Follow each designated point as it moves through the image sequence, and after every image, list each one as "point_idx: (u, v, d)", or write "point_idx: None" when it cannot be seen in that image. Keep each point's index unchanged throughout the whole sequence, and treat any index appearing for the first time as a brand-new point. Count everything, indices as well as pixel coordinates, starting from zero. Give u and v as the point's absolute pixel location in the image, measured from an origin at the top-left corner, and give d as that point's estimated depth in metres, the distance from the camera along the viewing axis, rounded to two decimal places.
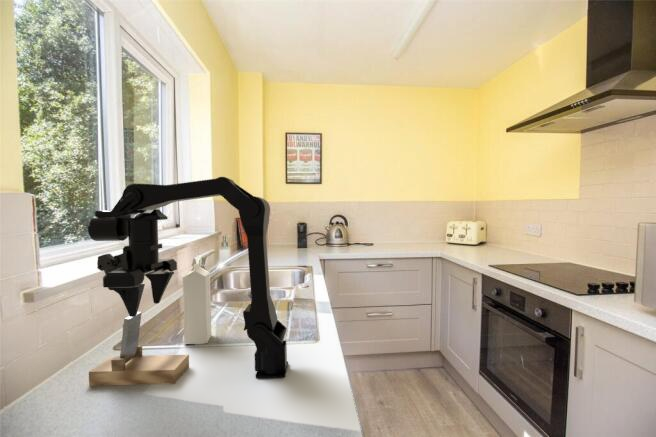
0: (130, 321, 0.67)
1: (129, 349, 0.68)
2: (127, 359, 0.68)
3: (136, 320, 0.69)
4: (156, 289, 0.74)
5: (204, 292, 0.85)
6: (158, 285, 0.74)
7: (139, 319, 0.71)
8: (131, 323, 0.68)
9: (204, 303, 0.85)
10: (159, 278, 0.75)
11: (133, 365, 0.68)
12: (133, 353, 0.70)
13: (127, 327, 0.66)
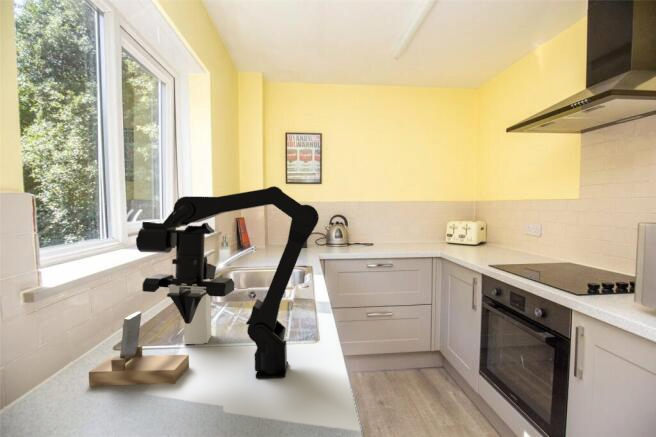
0: (130, 321, 0.67)
1: (129, 349, 0.68)
2: (127, 359, 0.68)
3: (136, 320, 0.69)
4: None
5: None
6: None
7: (139, 319, 0.71)
8: (131, 323, 0.68)
9: (204, 303, 0.85)
10: None
11: (133, 365, 0.68)
12: (133, 353, 0.70)
13: (127, 327, 0.66)
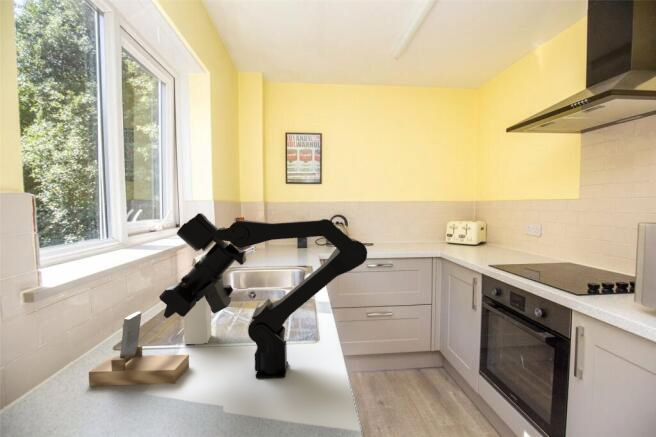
0: (130, 321, 0.67)
1: (129, 349, 0.68)
2: (127, 359, 0.68)
3: (136, 320, 0.69)
4: None
5: None
6: None
7: (139, 319, 0.71)
8: (131, 323, 0.68)
9: (204, 303, 0.85)
10: None
11: (133, 365, 0.68)
12: (133, 353, 0.70)
13: (127, 327, 0.66)
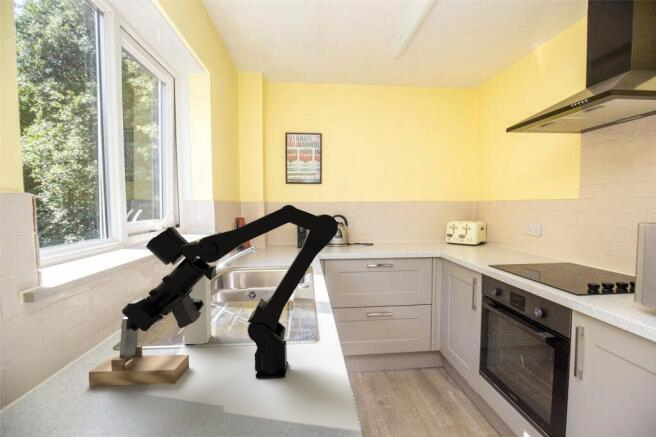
0: (128, 321, 0.67)
1: (129, 348, 0.68)
2: (127, 359, 0.68)
3: None
4: None
5: (204, 292, 0.85)
6: None
7: None
8: (129, 323, 0.68)
9: (204, 303, 0.85)
10: None
11: (133, 365, 0.68)
12: (132, 353, 0.70)
13: (125, 327, 0.66)
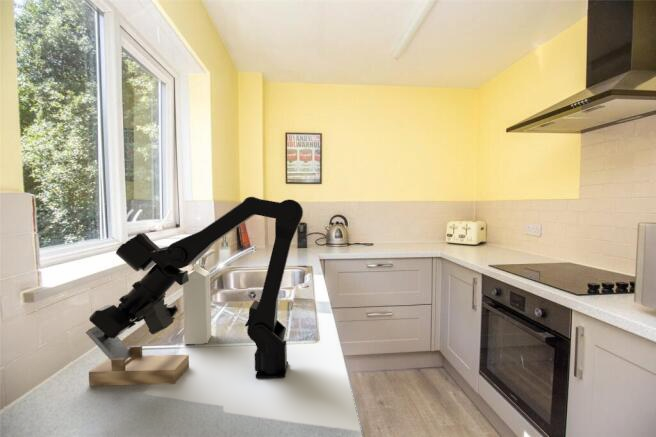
0: (93, 330, 0.67)
1: (116, 351, 0.68)
2: None
3: None
4: None
5: (204, 292, 0.85)
6: None
7: None
8: (96, 332, 0.67)
9: (204, 303, 0.85)
10: None
11: (133, 365, 0.68)
12: (126, 353, 0.70)
13: (94, 336, 0.66)
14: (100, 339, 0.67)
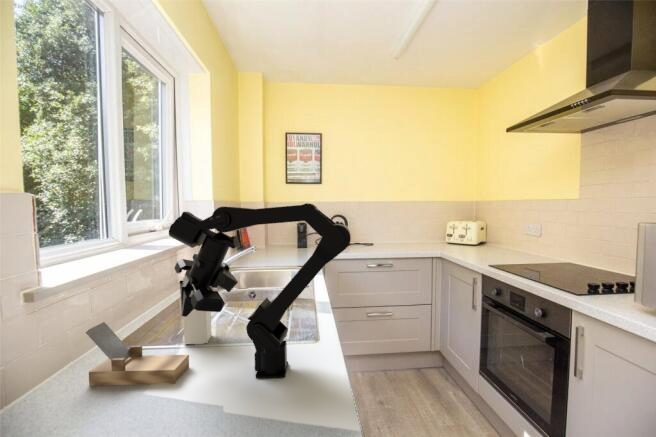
0: (93, 330, 0.67)
1: (116, 351, 0.68)
2: None
3: (102, 328, 0.69)
4: None
5: None
6: None
7: (106, 327, 0.70)
8: (96, 332, 0.67)
9: None
10: None
11: (133, 365, 0.68)
12: (126, 353, 0.70)
13: (94, 336, 0.66)
14: (100, 339, 0.67)
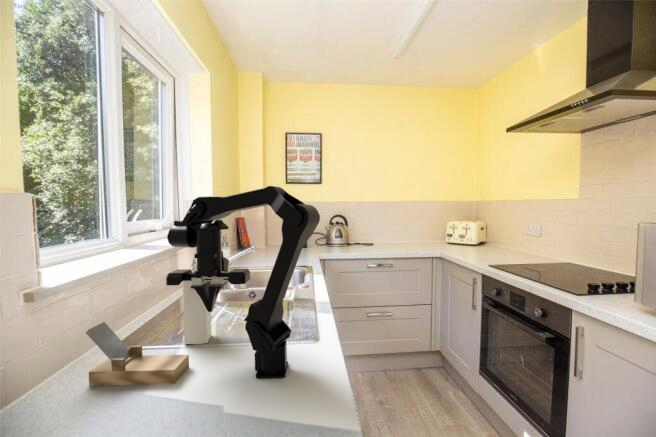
0: (93, 330, 0.67)
1: (116, 351, 0.68)
2: None
3: (102, 328, 0.69)
4: None
5: None
6: None
7: (106, 327, 0.70)
8: (96, 332, 0.67)
9: None
10: None
11: (133, 365, 0.68)
12: (126, 353, 0.70)
13: (94, 336, 0.66)
14: (100, 339, 0.67)
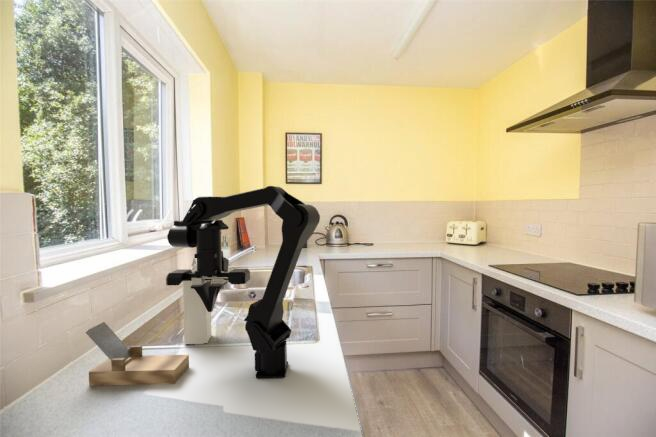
0: (93, 330, 0.67)
1: (116, 351, 0.68)
2: None
3: (102, 328, 0.69)
4: None
5: None
6: None
7: (106, 327, 0.70)
8: (96, 332, 0.67)
9: None
10: None
11: (133, 365, 0.68)
12: (126, 353, 0.70)
13: (94, 336, 0.66)
14: (100, 339, 0.67)
